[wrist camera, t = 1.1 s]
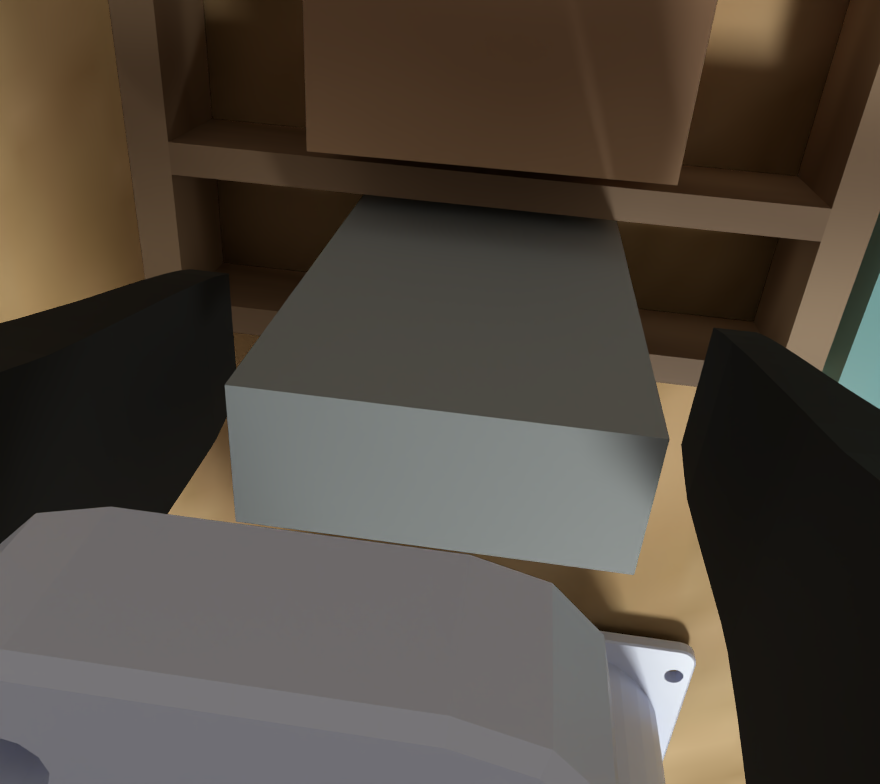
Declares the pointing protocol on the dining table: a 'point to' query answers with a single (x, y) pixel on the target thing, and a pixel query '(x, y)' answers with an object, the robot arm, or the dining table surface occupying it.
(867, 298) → the tray
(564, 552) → the slate gray block
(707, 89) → the dining table surface
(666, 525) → the dining table surface
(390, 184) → the rack
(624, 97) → the offcut upper
